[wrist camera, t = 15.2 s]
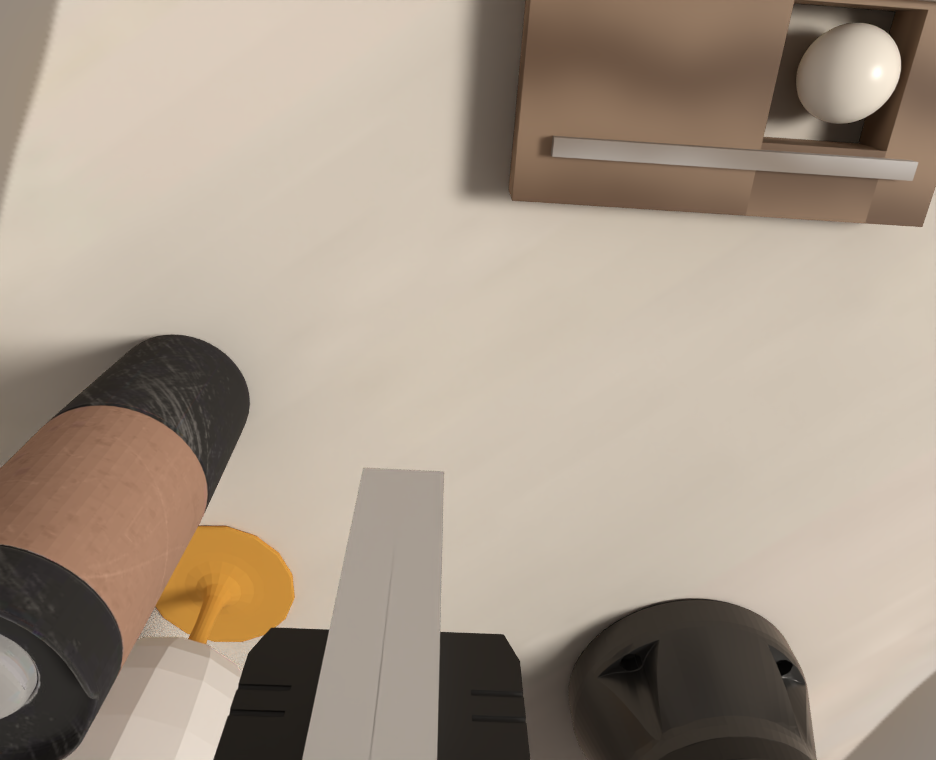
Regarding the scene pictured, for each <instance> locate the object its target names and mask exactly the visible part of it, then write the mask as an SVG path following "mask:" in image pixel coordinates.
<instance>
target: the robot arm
mask: <svg viewBox="0 0 936 760" xmlns="http://www.w3.org/2000/svg"><path fill="white" fill-rule="evenodd" d="M443 491H444V472H442V471H421V470H400V469H380V468H363V471H362V476H361V481H360V486H359V491H358V495H357V500H356V505H355V510H354V514H353V519H352V524H351V529H350V534H349V538H348V543H347V548H346V553H345V557H344V562H343V567H342V572H341V577H340V581H339V586H338V591H337V596H336V600H335V605H334V610H333V615H332V620H331V624H330V629H329V630H323V629H297V628H270V629H269V630H268V632H267V633H266V634H265V635H264V636H263V637H262V638H261V639H260V641H259V642H258V643H257V644H256V645H255V646H254V647H253V649H252V650H251V651H250V652H249V653H248V656H247V659H246V662H245V665H244V668H243V671H242V674H241V677H240V680H239V683H238V690H236V692H235V695H234V698H233V701H232V704H231V707H230V714H229V716H227V719H226V722H225V725H224V729H223V732H222V735H221V738H220V741H219V744H218V747H217V750H216V753H215V756H214V759H213V760H530V754H529V745H528V735H527V725H526V722H525V718H526V716H525V706H524V698H523V687H522V677H521V667H520V661H519V659H518V657H517V656H516V654H515V652H514V651H513V649H512V647H511V646H510V644H509V642H508V641H507V639H506V638H505V636H504V634H479V633H453V632H440V616H441V574H442V533H443ZM568 697H569V705H570V711H571V717H572V723H573V728H574V732H575V735H576V738H577V741H578V743H579V746H580V748H581V749H582V751H583V753H584V755H585V756H586V758H587V760H817V759H816V751H815V743H814V736H813V728H812V720H811V712H810V705H809V697H808V689H807V684H806V681H805V677H804V674H803V672H802V669H801V667H800V665H799V663H798V661H797V659H796V657H795V656H794V654H793V652H792V650H791V648H790V646H789V644H788V643H787V641H786V639H785V638H784V636H783V635H782V634H781V633H780V631H779V630H778V629H777V628H776V627H775V626H774V625H773V624H771V623H770V622H769V621H767V620H766V619H765V618H763V617H762V616H760V615H758V614H756V613H754V612H752V611H750V610H748V609H746V608H743V607H740V606H737V605H733V604H729V603H724V602H718V601H710V600H685V601H676V602H669V603H664V604H660V605H656V606H653V607H649V608H646V609H643V610H641V611H638V612H636V613H633V614H631V615H629V616H627V617H625V618H623V619H621V620H619V621H618V622H616V623H615V624H613V625H611V626H610V627H609V628H607V629H606V630H604V631H603V632H602V633H601V634H600V635H598V636H597V637H596V638H595V639H594V640H593V641H592V642H591V643H590V644H589V645H588V647H587V648H586V649H585V650H584V652H583V653H582V654H581V656H580V657H579V659H578V661H577V663H576V665H575V667H574V669H573V672H572V675H571V678H570V682H569V690H568Z"/></svg>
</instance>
